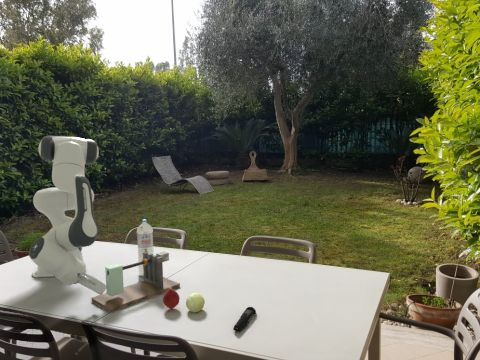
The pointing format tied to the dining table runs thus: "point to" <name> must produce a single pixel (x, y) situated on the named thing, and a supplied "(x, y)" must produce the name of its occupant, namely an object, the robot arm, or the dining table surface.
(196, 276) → the dining table surface
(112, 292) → the sleeve
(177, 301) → the onion
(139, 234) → the water bottle
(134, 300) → the cord rig
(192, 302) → the tennis ball
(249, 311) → the electric trimmer
